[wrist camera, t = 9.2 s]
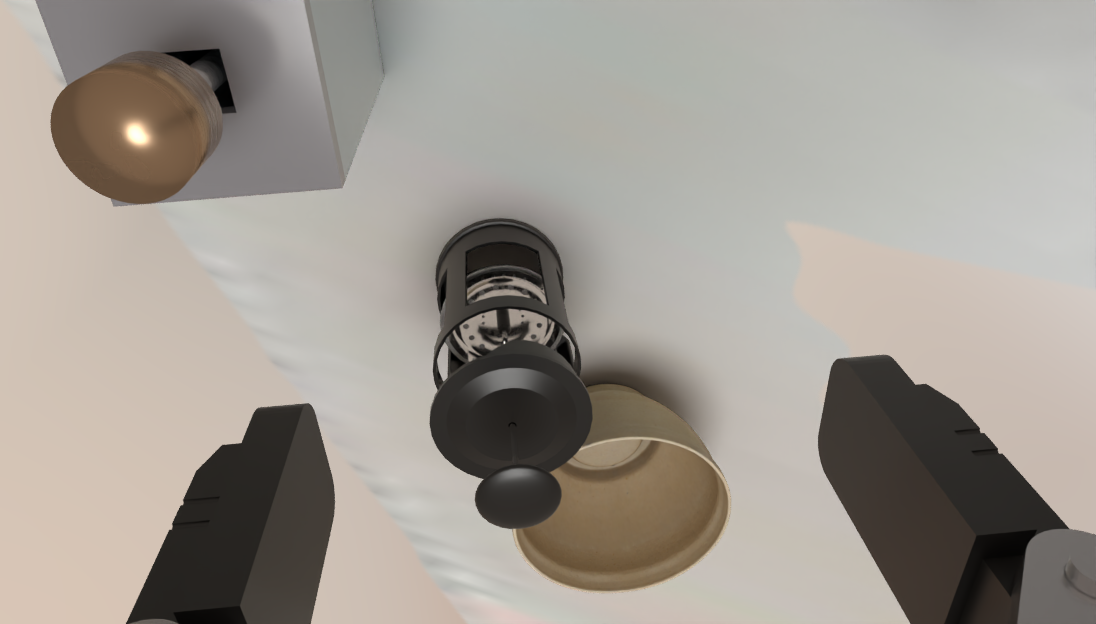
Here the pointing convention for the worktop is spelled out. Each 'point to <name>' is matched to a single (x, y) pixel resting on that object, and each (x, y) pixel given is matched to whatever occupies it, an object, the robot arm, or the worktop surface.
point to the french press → (507, 375)
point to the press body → (248, 79)
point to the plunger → (140, 124)
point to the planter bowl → (630, 501)
